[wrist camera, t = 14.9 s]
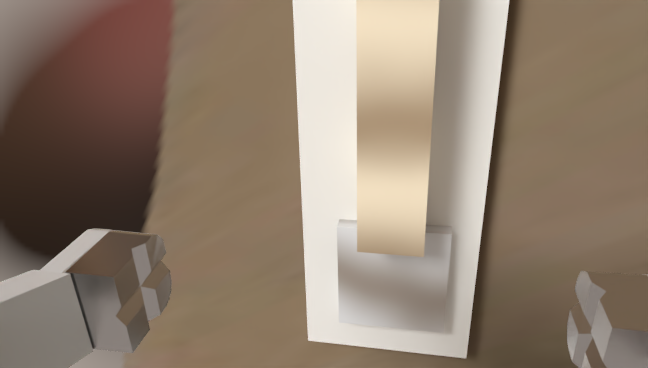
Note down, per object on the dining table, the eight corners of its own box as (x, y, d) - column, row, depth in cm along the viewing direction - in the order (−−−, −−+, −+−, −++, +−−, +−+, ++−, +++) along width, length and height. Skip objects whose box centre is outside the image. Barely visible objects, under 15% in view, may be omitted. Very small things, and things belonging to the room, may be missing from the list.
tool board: (292, -134, 21) (286, -138, 20) (523, -147, 19) (527, -151, 19) (311, 329, 31) (308, 340, 30) (465, 346, 29) (466, 358, 29)
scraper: (334, -61, 21) (320, -63, 18) (476, -67, 20) (483, -69, 17) (341, 313, 29) (332, 350, 26) (443, 323, 28) (444, 363, 25)
